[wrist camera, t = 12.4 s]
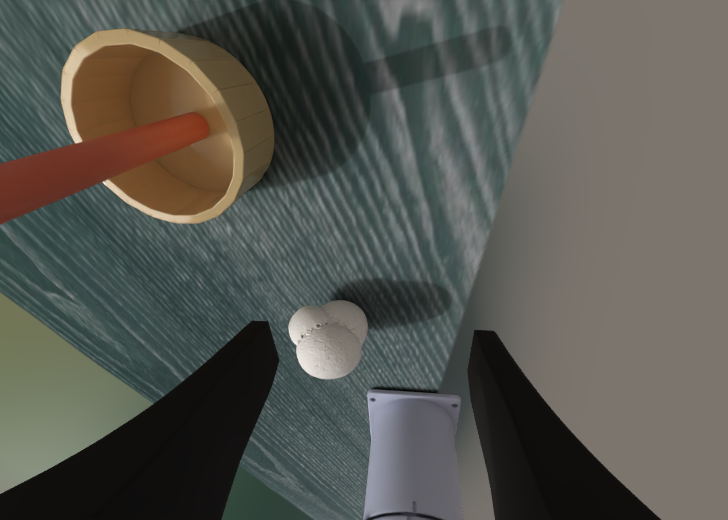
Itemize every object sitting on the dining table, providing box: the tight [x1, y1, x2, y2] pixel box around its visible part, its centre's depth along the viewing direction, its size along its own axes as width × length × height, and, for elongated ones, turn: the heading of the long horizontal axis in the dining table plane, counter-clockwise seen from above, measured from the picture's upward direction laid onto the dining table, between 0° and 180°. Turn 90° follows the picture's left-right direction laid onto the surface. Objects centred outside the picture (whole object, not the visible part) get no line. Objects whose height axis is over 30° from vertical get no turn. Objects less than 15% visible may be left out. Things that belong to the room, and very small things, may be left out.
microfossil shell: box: [288, 300, 368, 379], centre depth 22 cm, size 4×5×6 cm
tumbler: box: [61, 28, 275, 223], centre depth 16 cm, size 8×8×4 cm
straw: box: [0, 112, 209, 224], centre depth 13 cm, size 1×1×11 cm
